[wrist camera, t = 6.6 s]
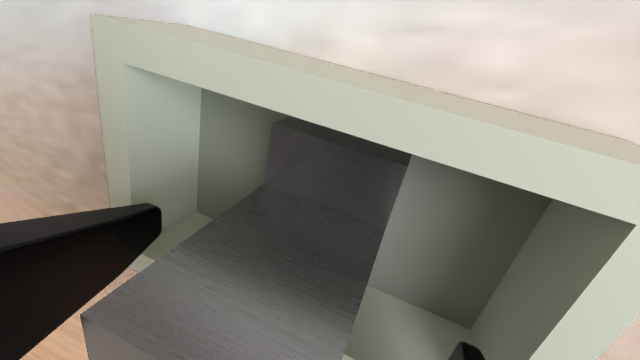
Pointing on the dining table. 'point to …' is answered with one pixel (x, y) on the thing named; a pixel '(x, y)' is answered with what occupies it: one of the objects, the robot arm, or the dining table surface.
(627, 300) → the pale green open box
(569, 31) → the dining table surface
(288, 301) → the grey l-shaped step block
